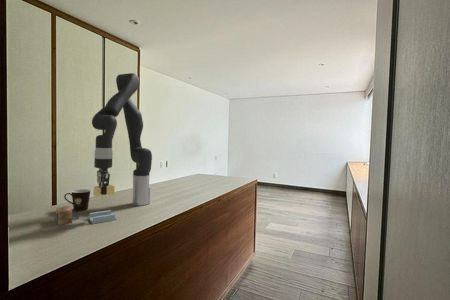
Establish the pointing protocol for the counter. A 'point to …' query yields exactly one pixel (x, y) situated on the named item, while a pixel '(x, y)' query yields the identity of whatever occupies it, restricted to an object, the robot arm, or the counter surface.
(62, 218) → the brown wooden block
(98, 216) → the cradle
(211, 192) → the counter surface
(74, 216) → the drift
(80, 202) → the coffee mug
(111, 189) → the yellow rectangular block
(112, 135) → the robot arm
